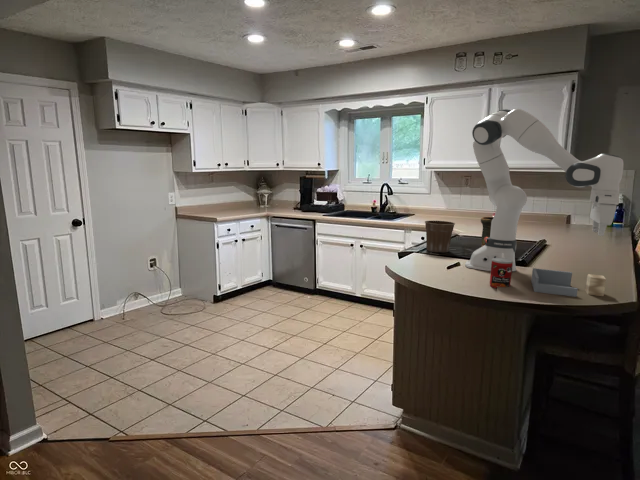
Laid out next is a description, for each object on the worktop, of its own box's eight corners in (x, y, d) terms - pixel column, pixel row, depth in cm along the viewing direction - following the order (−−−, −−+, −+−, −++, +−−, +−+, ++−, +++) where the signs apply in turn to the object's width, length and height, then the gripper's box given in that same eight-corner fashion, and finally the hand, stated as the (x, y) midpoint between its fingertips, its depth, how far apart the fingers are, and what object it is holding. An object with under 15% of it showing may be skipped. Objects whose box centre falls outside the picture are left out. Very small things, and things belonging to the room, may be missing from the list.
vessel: (500, 258, 222) (503, 220, 218) (474, 254, 231) (476, 217, 228) (510, 254, 232) (513, 218, 229) (484, 251, 242) (487, 216, 238)
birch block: (587, 295, 159) (590, 277, 158) (585, 291, 164) (587, 274, 163) (603, 297, 158) (606, 278, 156) (600, 293, 162) (603, 275, 161)
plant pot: (429, 246, 249) (431, 219, 246) (456, 250, 240) (459, 222, 237) (418, 251, 236) (420, 222, 233) (446, 255, 227) (449, 225, 224)
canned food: (489, 287, 168) (492, 260, 166) (489, 282, 175) (491, 256, 173) (510, 290, 165) (513, 262, 163) (509, 285, 173) (512, 258, 171)
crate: (533, 294, 161) (535, 277, 160) (531, 283, 176) (532, 268, 175) (576, 299, 156) (578, 282, 155) (569, 287, 171) (571, 272, 170)
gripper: (589, 195, 171) (583, 229, 174) (600, 198, 153) (593, 236, 155) (607, 196, 169) (601, 231, 171) (620, 200, 150) (613, 238, 153)
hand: (597, 233), depth 163 cm, fingers open, 8 cm apart
